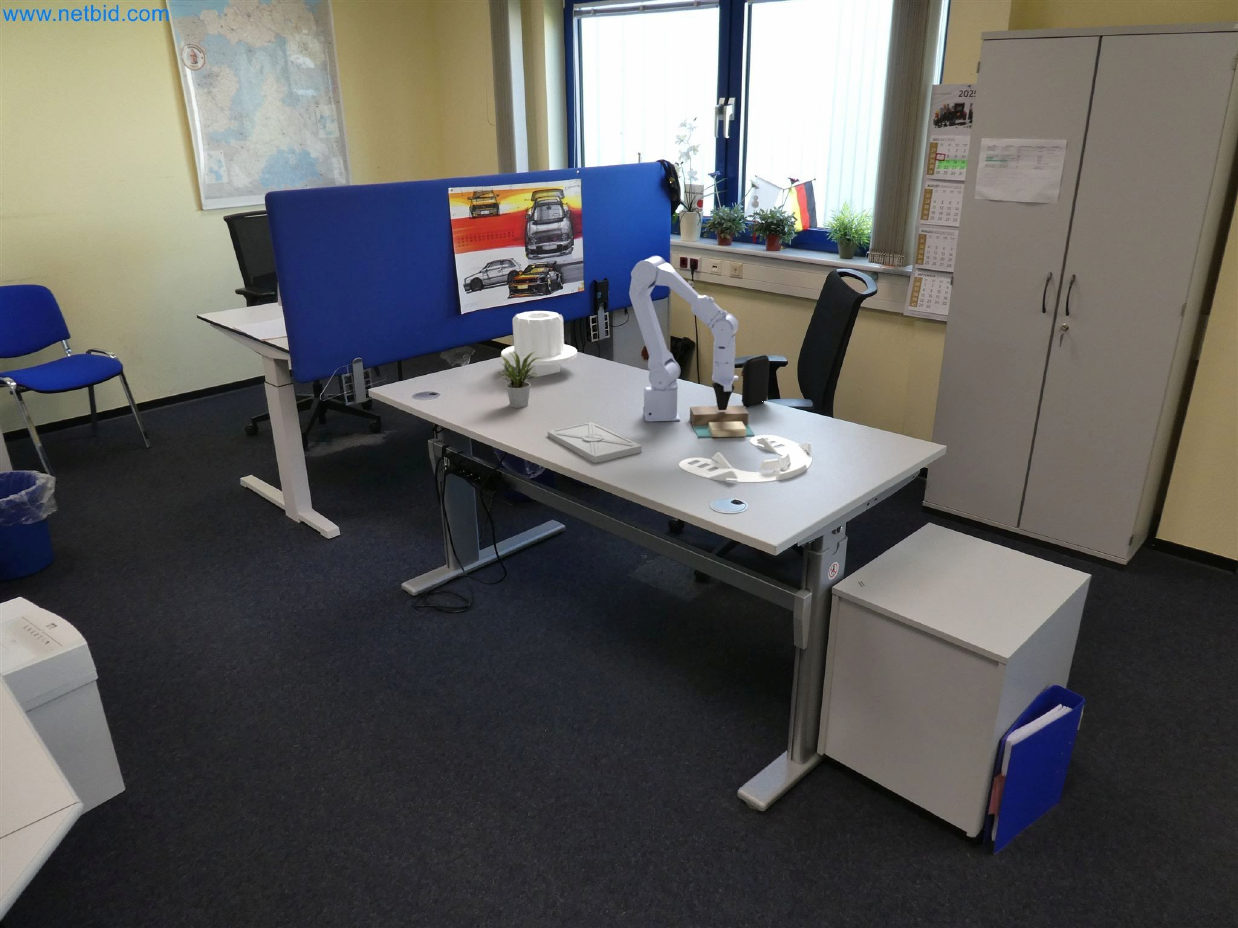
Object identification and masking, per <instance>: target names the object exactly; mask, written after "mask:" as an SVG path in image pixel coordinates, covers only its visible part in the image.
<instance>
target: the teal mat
mask: <svg viewBox="0 0 1238 928" xmlns="http://www.w3.org/2000/svg"><path fill="white" fill-rule="evenodd" d="M744 426H745V427H746V436H745V437H755V433H754V430H752V428H751V426H750V424H748V425H744ZM693 430H694V431H695V435H696V436H697V438H713V437H712V436H711V433H710V431H709V426H694V427H693Z"/></svg>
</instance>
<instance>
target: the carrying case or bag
mask: <svg viewBox="0 0 1238 928" xmlns="http://www.w3.org/2000/svg"><path fill="white" fill-rule="evenodd" d="M740 376H741V377H742V387H741V388H742V389H741V403H742V405H743V406H744V407H745V409H746V408H747V409H748V408H752V407H755V406H760V405H763V404H764V403H765V402H766V401H767V400H768V395H769V394H768V391H769V379H770V378H769V377H770V359H769V357H768V356H767V355H766V354H762V355H761V354H760V355H757V356H753V357H749V358H747V359H746V360H745V361H744V363H743V365H742V368H741V374H740ZM762 401H763V402H762ZM764 401H765V402H764Z"/></svg>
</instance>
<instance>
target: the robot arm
mask: <svg viewBox="0 0 1238 928" xmlns="http://www.w3.org/2000/svg"><path fill="white" fill-rule="evenodd" d="M630 276H631V280H630V286H629V292H628V294H629V298H630V301H631V304H632V307H633V311H634V314H635V317H636V320H637V322H638V326H639V329H640V332H641V336H642V338H643V342H644V344H645V348H646V350H647V355H648V361H647V362H648V363H647V368H648V381H649V383H650V385H651V386H645V387H644V388H643V408H642V409H643V410H642V411H643V415H644V419H645V422H673V421H674V422H677V421H680V420H681V419H680V415H679V412H678V388H679V387H678V383H677V379H679V377H680V375H681V367H680V365H679V362H677V361H676V360H675V358H674V355H673V353H672V352H670V350H669V349H668V347H667V344H666V341H665V337H664V335H663V332H662V328H661V326H660V322H659V319H658V316H657V313H656V310H655V307H654V303H653V301H652V297H651V293H652V292H653V289H654V288H655V286H662V287H665V286H666V287H669V288H670V289H671V290H672V291H673V292H675V293H676V294H677V295H679V297H681V298H682V299H683V300H685V302H687V303H688V304H689V305H690V308H691V313H692V314H693V315H695V316H696V317H697V318H698V319H699V320H700V321H701V322H703V324H705V325H706V326H707V327H708V328H709V329H710V330H711V331H710V332H711V334H712V336H713V338H714V339H713V340H714V341H713V359H712V360H713V361H712V362H713V363H712V375H711V381H713V382H712V383H711V386H712V388H713V390H714V395H715V400H716V406H717V407H718V410H726V409H727V406H729V402H730V397H731V396H732V394H733V391H735V385H734V382H735V381H738V380H739V376H738V375H735V364H736V363H735V361H736V333H737V332H738V330H739V320H738V319H737V318H736V317H735V315H734V314H733V313H728V311H727V310H725V309H722V308H721V307H720V306H719V305H718V304H717V303H716V302H715V299H714V297H712V296H708V295H704V294H703V295H700V294H699V293H698V292H697V290H695V289H694V288H693V287H692V285H690V284H689V283H688V282H687V281H686V280H685V279H684V278H683V277H682V276H681V275H680V274H679V273H678V272H677V271H676V270H675V268H674V267H673V266H672V264H670V263H668V262H666V260H665V259H664V258H663V257H661V256H659V255H651V256H650V257H648V258H646V259H644V260H639V262H637V263H636V264H635V265H634V267H633V268H632V271H630Z"/></svg>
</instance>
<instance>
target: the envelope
mask: <svg viewBox="0 0 1238 928" xmlns="http://www.w3.org/2000/svg"><path fill="white" fill-rule="evenodd" d="M546 433H547V437H549V438H551V439H553V441H556V442H558V443H559V444H561V445H563V446H565V447H566V448H568V449H570V451H571V450H572V451H573V452H575V451H576V452H577V454H578V453H579V454H578V455H580V454H581V455H580V456H582V457H583V456H584V457H583V458H585V457H586V458H585V459H587V460H588V461H590V462H592V463H594V464H598V463H602V462H606V461H610V460H614V459H618V457H619V458H623V457H626V456H631V455H635V454H639V453H642V445H641V444H639V443H637V442H635V441H633V440H630V439H628V438H627V437H624V436H622V435H621V434H617V433H616V432H613V431H612V430H610V429H608V428H605V427H603V426H601V425H599V424H596V423H594V422H592V421H590V422H585V423H581V424H575V425H570V426H565V427H562V428H557V429H551V430H547V432H546ZM576 452H575V453H576ZM597 462H598V463H597Z"/></svg>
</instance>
